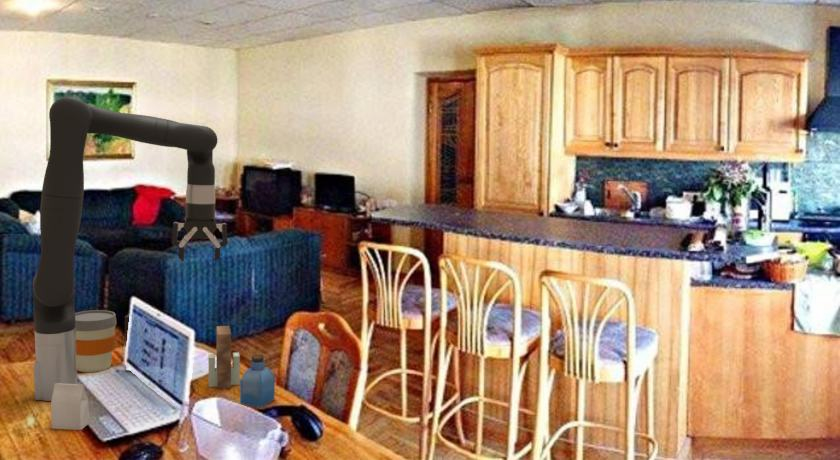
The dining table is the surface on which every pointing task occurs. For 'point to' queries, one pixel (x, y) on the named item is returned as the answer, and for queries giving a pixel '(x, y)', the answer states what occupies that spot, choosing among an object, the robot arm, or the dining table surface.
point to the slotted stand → (234, 370)
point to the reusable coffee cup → (94, 339)
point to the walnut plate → (224, 356)
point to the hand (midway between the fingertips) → (199, 261)
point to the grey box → (69, 407)
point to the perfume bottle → (257, 383)
